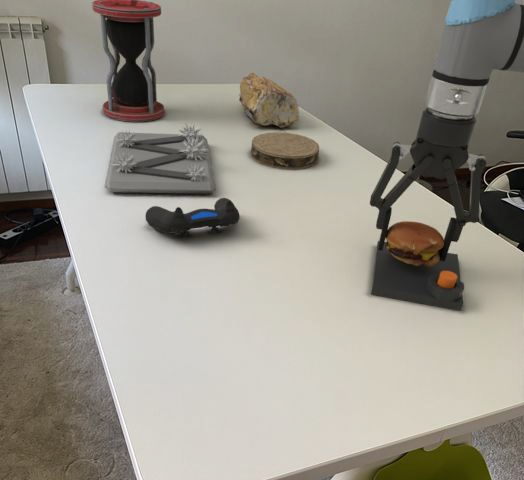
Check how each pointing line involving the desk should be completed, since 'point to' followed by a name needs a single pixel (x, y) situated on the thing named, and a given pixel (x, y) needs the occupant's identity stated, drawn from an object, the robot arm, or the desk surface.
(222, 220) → the gaming controller
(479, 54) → the robot arm
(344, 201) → the desk surface
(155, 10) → the hourglass
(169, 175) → the decorative plate
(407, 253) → the burger
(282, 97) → the petrified wood
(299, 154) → the wood log slice
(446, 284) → the button
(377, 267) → the scale
